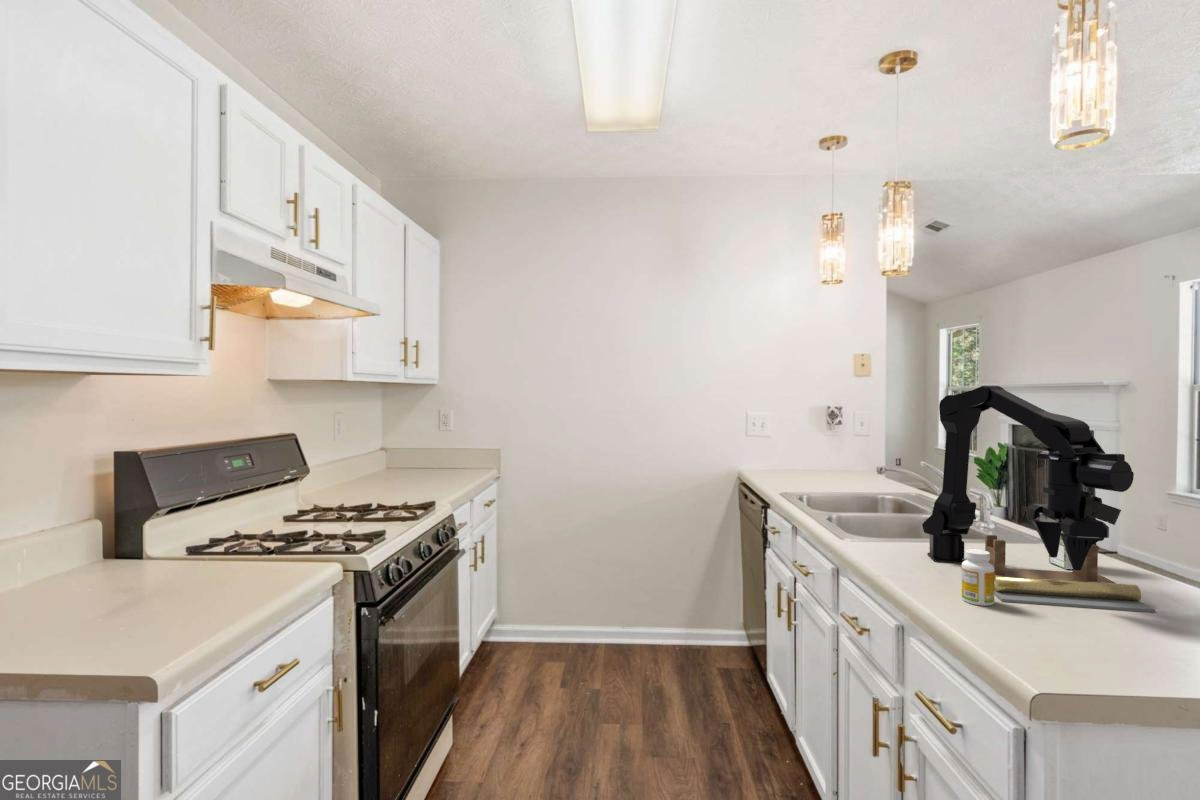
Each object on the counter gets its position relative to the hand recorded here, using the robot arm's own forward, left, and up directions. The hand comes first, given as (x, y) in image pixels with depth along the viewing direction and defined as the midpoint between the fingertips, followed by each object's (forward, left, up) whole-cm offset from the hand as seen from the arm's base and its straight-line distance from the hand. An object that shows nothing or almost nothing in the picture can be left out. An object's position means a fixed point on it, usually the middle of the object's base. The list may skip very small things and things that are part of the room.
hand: (1064, 563), depth 120 cm
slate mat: (0, 0, -7) cm, 7 cm away
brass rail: (0, 0, -6) cm, 6 cm away
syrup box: (+12, +25, -7) cm, 29 cm away
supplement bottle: (-17, -6, -7) cm, 19 cm away
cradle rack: (+1, +13, -7) cm, 15 cm away
